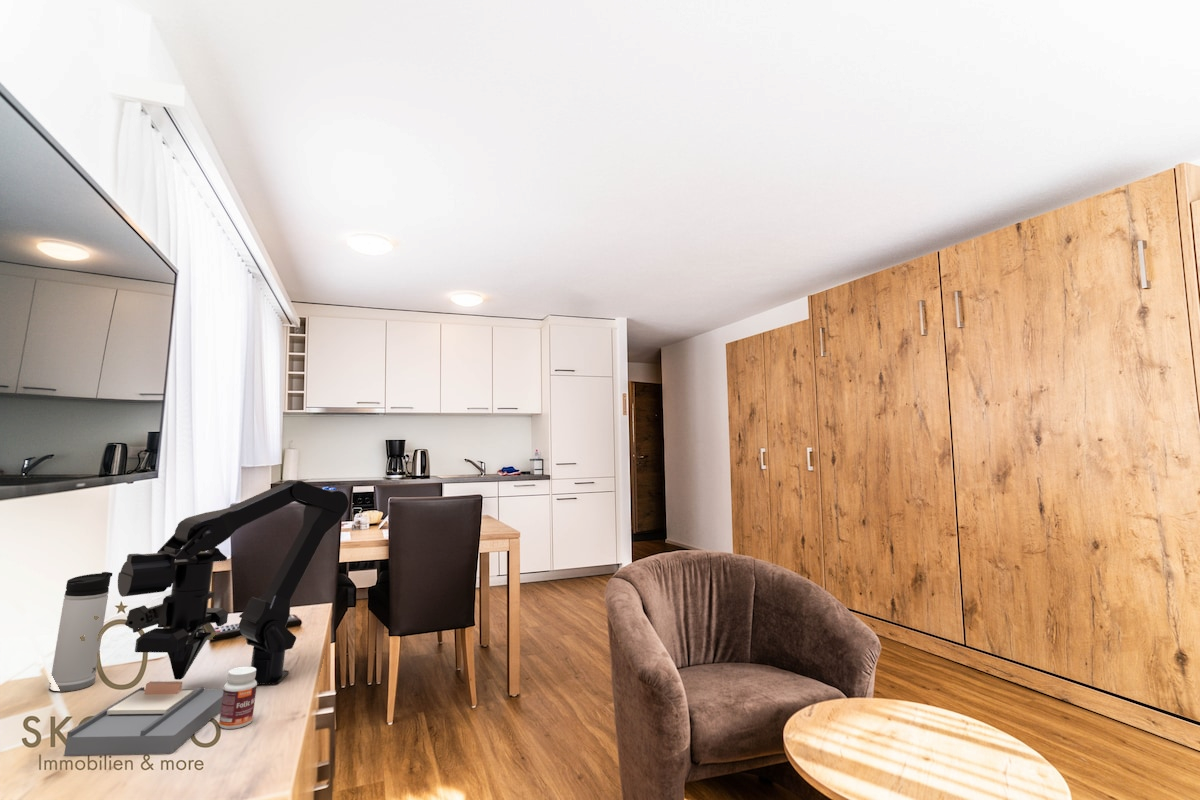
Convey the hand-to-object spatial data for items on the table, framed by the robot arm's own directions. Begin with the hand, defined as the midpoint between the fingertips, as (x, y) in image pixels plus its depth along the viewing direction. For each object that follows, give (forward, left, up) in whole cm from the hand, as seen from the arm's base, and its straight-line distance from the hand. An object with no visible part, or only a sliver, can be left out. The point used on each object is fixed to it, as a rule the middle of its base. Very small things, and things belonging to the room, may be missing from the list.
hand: (179, 678), depth 102 cm
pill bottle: (+9, +13, -4) cm, 16 cm away
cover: (+8, 0, -1) cm, 8 cm away
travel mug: (-8, -22, -4) cm, 24 cm away
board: (+10, +2, -4) cm, 11 cm away
